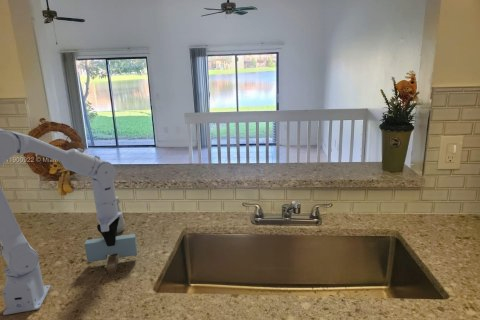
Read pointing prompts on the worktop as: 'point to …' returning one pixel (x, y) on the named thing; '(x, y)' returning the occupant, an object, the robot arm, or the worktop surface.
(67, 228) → the worktop surface
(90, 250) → the slate-blue slotted board
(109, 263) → the walnut slotted board
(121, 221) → the salt shaker
